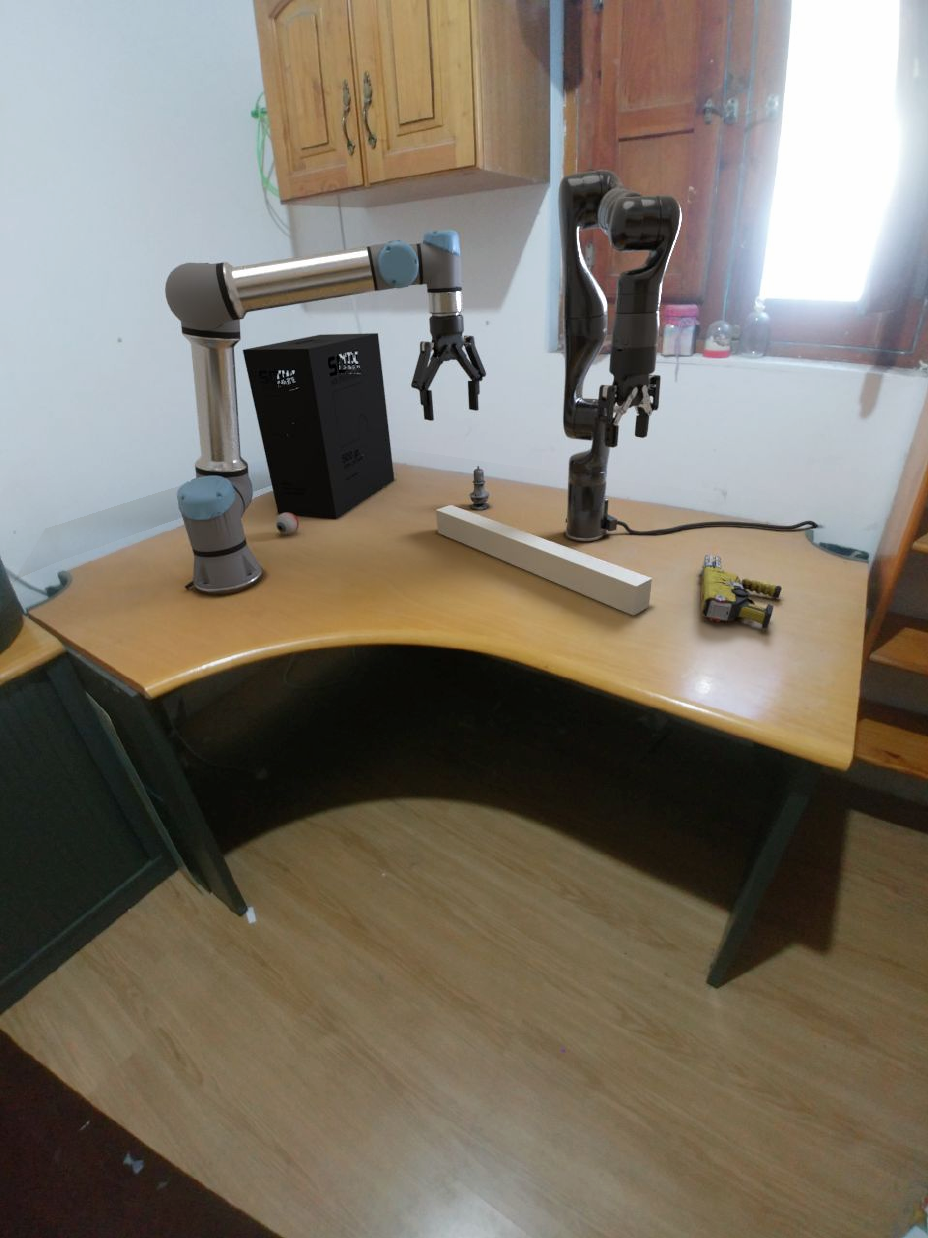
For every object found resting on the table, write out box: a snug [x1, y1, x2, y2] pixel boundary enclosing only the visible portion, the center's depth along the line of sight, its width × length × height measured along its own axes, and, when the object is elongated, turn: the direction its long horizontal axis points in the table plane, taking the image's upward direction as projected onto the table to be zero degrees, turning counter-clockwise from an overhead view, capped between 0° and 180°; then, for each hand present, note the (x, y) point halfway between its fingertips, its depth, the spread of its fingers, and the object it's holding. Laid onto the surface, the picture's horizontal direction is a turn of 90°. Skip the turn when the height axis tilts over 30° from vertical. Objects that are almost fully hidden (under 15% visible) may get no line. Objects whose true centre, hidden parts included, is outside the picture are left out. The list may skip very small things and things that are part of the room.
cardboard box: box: [242, 332, 395, 520], centre depth 181 cm, size 38×20×45 cm, turn 159°
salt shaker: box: [469, 465, 491, 510], centre depth 173 cm, size 6×6×12 cm
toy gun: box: [700, 553, 783, 630], centre depth 120 cm, size 5×24×15 cm
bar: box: [435, 504, 653, 616], centre depth 139 cm, size 63×5×6 cm, turn 40°
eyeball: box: [275, 512, 300, 536], centre depth 163 cm, size 6×6×6 cm
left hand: (452, 414), depth 142 cm, fingers open, 13 cm apart
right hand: (626, 441), depth 108 cm, fingers open, 8 cm apart
